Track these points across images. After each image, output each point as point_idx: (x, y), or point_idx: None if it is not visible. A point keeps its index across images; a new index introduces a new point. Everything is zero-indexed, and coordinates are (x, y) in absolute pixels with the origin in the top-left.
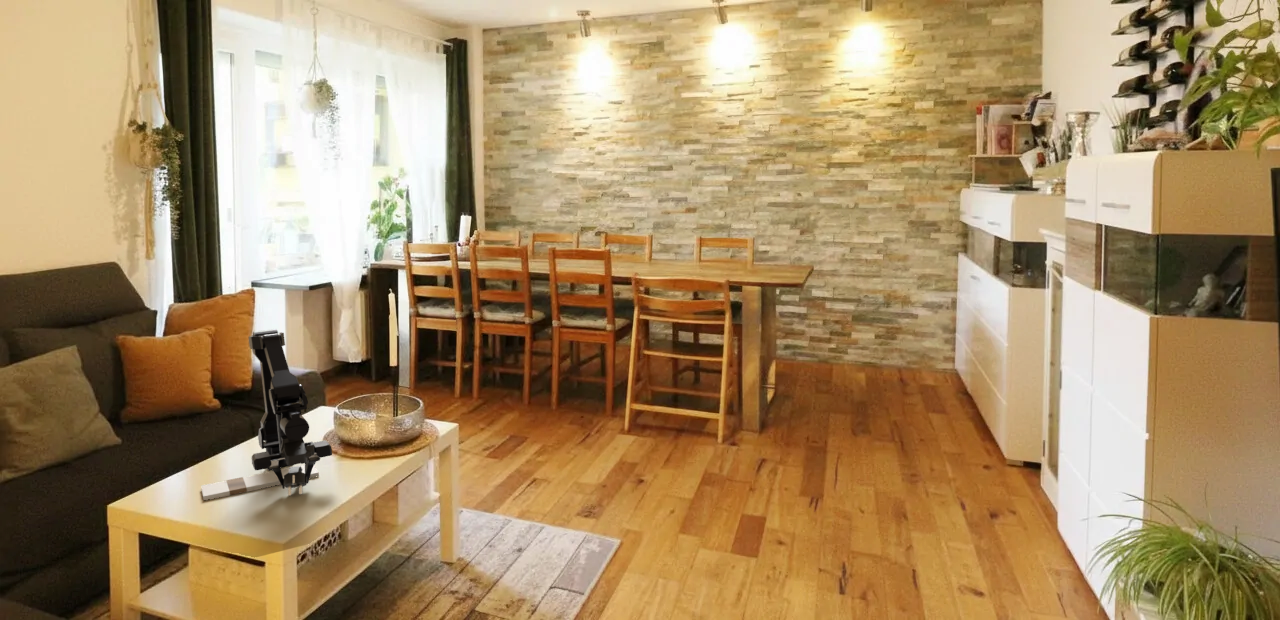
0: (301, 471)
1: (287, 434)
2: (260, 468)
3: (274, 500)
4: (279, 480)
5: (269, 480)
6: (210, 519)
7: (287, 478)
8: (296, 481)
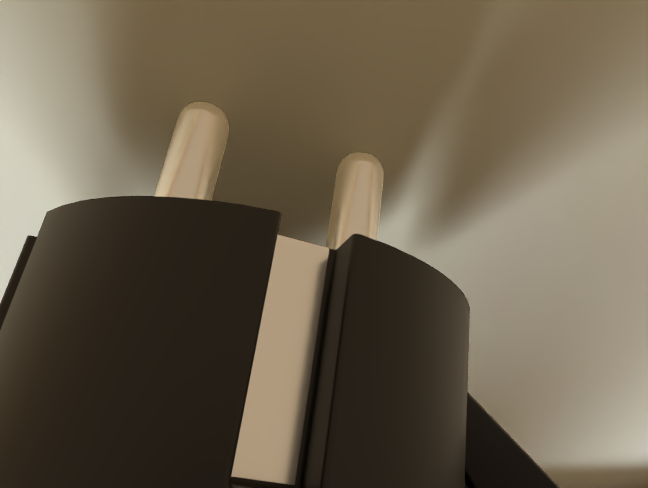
0: None
1: None
2: None
3: (549, 181)
4: (526, 453)
5: None
6: None
7: (433, 411)
8: (230, 220)
